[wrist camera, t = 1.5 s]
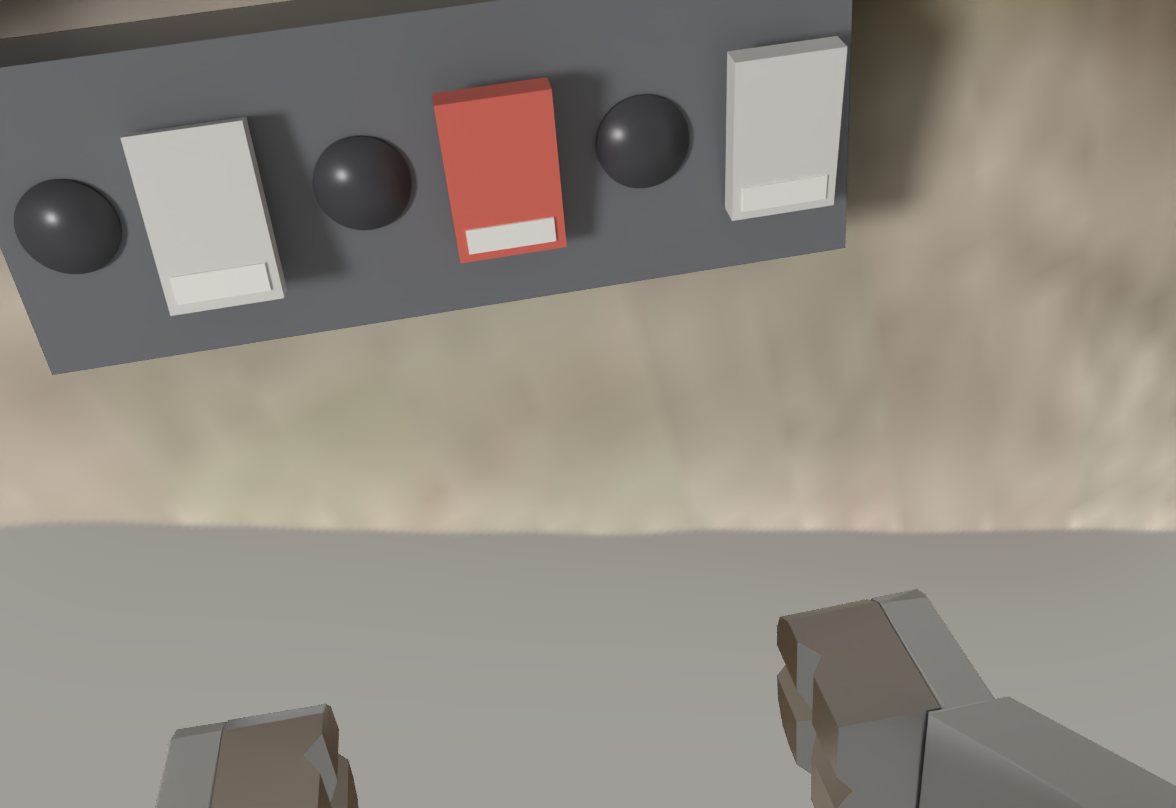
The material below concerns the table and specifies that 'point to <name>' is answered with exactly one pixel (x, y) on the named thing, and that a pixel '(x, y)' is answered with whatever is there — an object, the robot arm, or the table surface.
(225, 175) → the rocker
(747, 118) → the rocker
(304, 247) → the strip housing
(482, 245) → the rocker middle
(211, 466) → the table surface
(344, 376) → the table surface
